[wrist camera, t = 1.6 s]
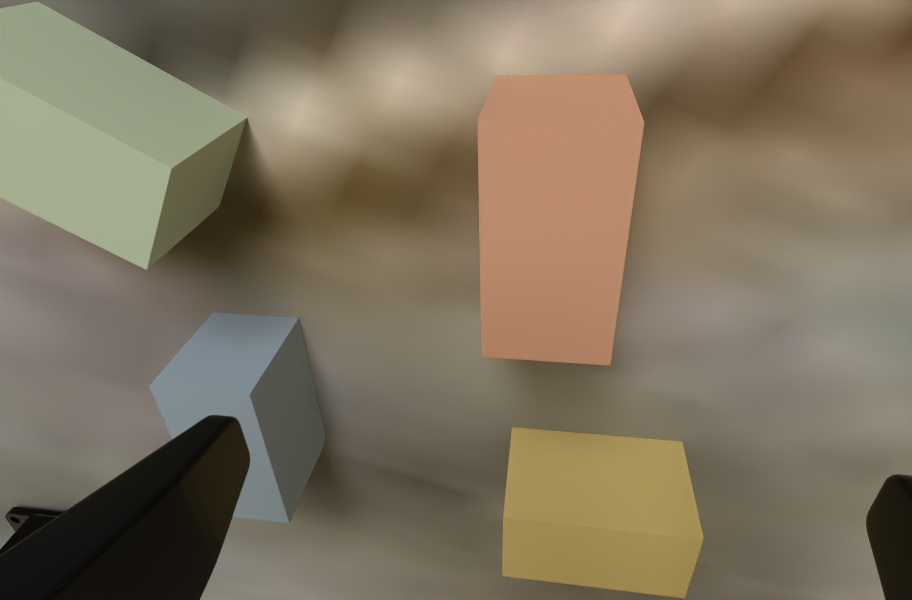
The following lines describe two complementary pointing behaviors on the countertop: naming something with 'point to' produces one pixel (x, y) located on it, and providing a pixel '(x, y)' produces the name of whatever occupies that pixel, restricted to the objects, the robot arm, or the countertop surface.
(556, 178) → the terracotta block
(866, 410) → the countertop surface
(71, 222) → the sage block
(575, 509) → the ochre block
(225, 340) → the slate-blue block
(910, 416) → the countertop surface
